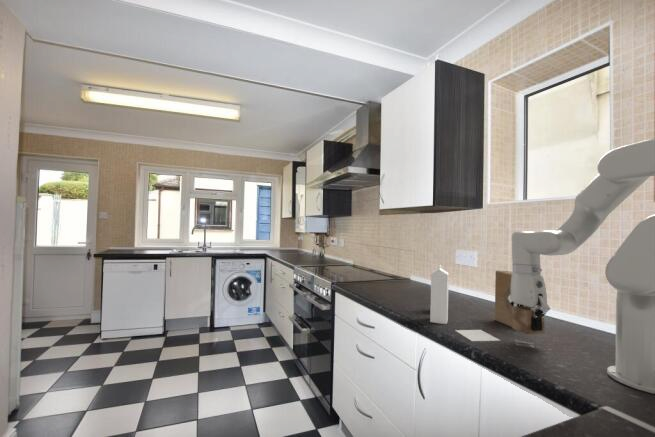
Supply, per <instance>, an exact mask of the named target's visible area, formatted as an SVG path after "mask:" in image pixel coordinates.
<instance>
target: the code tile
mask: <svg viewBox="0 0 655 437" xmlns="http://www.w3.org/2000/svg"><path fill="white" fill-rule="evenodd" d="M514 342H515V344H514V345H515V346H521V347H526V348H530V349H531V348H532V349H534V348H535V347H534V343H532V342H528V341H522V340H519V339H514ZM520 343H522V344H520ZM524 344H529V345H524Z"/></svg>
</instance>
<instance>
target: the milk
mask: <svg viewBox="0 0 655 437" xmlns="http://www.w3.org/2000/svg"><path fill="white" fill-rule="evenodd" d="M449 275H450V274H449V272H448V271H447V270H445V269H443V268H442V264H440V265H439V268H437V269H435V270H433V271H432V272H431V274H430V298H431V307H430V306H429V307H430V311H429V314H430V315H429V316H430V317H429V319H430V320H429V322H430V323H435V324H441V325H447V324H448V321H449V320H448V319H449V284H450V283H449V278H450V277H449Z"/></svg>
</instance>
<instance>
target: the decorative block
mask: <svg viewBox="0 0 655 437" xmlns="http://www.w3.org/2000/svg"><path fill="white" fill-rule="evenodd" d="M512 273H513V271H509V270H495V282H494V283H495V285H494V288H495V289H494V292H495V294H494V301H495V302H494V320H495V321H496V322H499V323H501V324H503V325H507V326H509V327H511V328H512V305H511V303H510V301H509V300H508V297H509V295H510V294H511V291H510V289H511V277H512Z"/></svg>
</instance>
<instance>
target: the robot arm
mask: <svg viewBox="0 0 655 437" xmlns="http://www.w3.org/2000/svg"><path fill="white" fill-rule="evenodd" d="M596 167H597V172H598V174H597V175H596V176H595V177H594V178H593V179H592V180H591V181H590V182H589V183H588V184H587V185H586V186H585V187H583V189H582V190H581V191H580V192H579V193H578V194H577V195H576V196H575V199H574V208H573V211H572V213H571V215H570V216H569V218H568V219H566V221H565V222H564V223H563V224H562V225H561V226H560V227H559V228H558V229H557V230H555V229H554V230H551V229H550V230H548V229H547V230H540V231H531V230H530V231H528V230H527V231H521V230H520V231H514V232H513V233H512V235H511V261H512V262H511V263H512V272H513V273H512V277H511V289H510V291H511V294H510V295H509V297H508V300H509V301H510V303H511V305H512V306H527V307H530V309H531V312H532V315H533V317H531V326H532V330H533V331H542V318H543V317H544V318H545V315H546V314H547V313H548V312H549V311H551V307H550V306H549V304H548V296H547V295H548V294H547V288H546V283H545V279H544V276H543V275H541V274H542V271H543V270H542V268H541V267H542V266H541V255H543V256H551V257H553V256H564V255H569V254H571V253H573V252H575V251H576V250H577V249H578V248H580V247H581V246H582V244H584V243H585V242H587V240H589V238H591V236H593V234H595V232H596V231H597V230H598V229H599V228H600V226H601V225H602V224H603V223H604V222H605V221H606V219H607V218H608V216H609V215H610V214H612V212H614V210H615V209H616V208H618V207H619V206H620V205H621V204H622V203H623V202H624V201H625V200H627V198H629V197H630V195H632V194H633V193H634V192H636V190H638V188H640V186H641V185H643V184H644V183H645V182H646V181H647V180H649V178H650V177H655V137H654V138H651V139H647V140H642V141H641V140H640V141H639V142H635V143H630V144H627V145H623V146H620V147H617V148H614V149H612V150H609V151H607V152H606V153H605V154H603V156H601V158H600V159H599V161H598V163H597V166H596ZM604 274H605V278H606V280H607V282H608V283H609V285H610V286H612V288H613V289H615V290H616V291H617V292H616V299H615V365H610V366H608V367H607V369H606V370H607V371H606V373H607V375H608V376H609V377H610V378H612V379H613V380H615V381H617V382H619V383H620V384H623V385H624V386H628V387H630V388H633V389H636V390H639V391H641V392H646V393H648V394H649V393H650V394H655V214H651V215H649V216H646V217H645V218H644V219H642V220H641V221H640V222H639V223H637V224H636V226H635V227H634V228H633V229H632V230H631V231H630V233H629V234H628V236H627V237H626V238H625V240H624V241H623V242H622V244H620V246H619V247H618V249H617V250H616V251H615V253H614V254H613V255H612V256H611V258H609V260H608V262H607V263H606V266H605V271H604ZM535 309H537V312H536V310H535Z"/></svg>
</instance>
